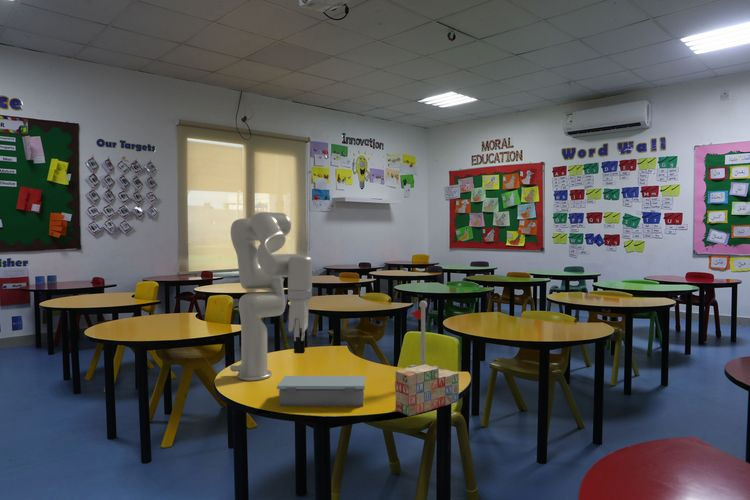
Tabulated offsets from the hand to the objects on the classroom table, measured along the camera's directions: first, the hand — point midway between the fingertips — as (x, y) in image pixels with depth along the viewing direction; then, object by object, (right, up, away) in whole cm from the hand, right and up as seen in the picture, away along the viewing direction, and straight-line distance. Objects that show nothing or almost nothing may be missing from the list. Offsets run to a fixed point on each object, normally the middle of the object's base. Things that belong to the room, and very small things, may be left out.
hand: (299, 352), depth 151 cm
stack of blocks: (+40, -16, -3) cm, 44 cm away
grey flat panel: (+7, -12, +2) cm, 14 cm away
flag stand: (+41, -16, +21) cm, 49 cm away
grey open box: (+7, -16, +3) cm, 18 cm away
